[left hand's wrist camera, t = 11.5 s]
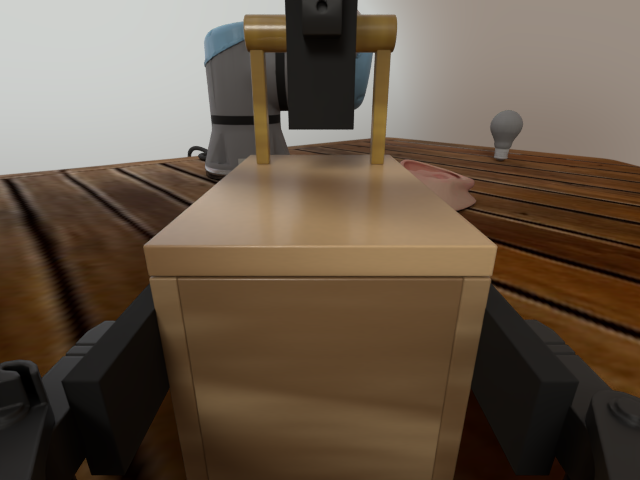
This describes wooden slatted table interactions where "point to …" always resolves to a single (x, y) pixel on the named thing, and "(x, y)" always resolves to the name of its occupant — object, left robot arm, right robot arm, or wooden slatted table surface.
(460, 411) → the chest
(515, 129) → the light bulb
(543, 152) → the wooden slatted table surface
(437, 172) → the anatomical model
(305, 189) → the lid
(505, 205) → the wooden slatted table surface
